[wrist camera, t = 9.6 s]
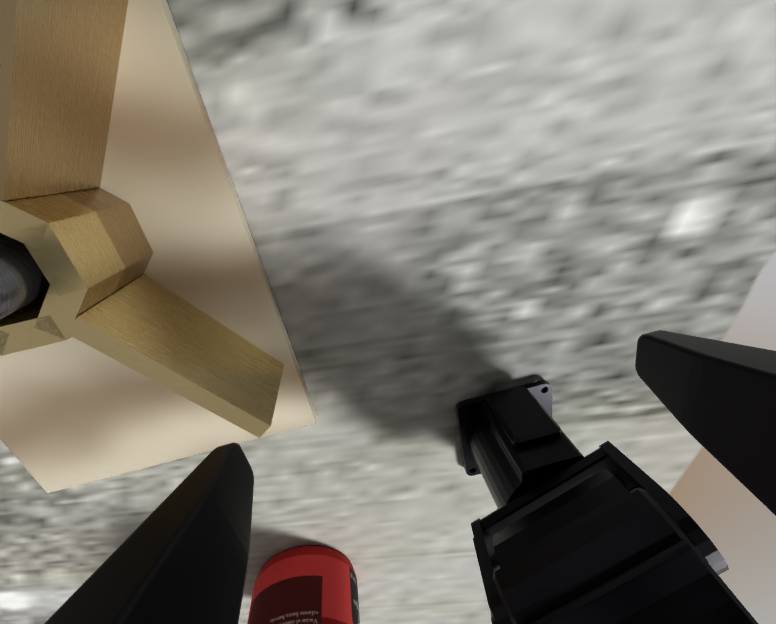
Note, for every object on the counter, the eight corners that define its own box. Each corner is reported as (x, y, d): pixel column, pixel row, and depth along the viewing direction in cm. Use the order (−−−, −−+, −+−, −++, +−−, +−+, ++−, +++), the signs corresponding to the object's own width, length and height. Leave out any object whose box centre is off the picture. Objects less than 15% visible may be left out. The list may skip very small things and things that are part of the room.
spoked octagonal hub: (286, 371, 20) (274, 434, 16) (121, 412, 20) (59, 490, 15) (126, -48, 13) (12, -161, 8) (-147, 3, 12) (-431, -88, 8)
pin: (119, 259, 17) (-32, 348, 9) (70, 271, 16) (-119, 371, 9) (91, 211, 16) (-101, 272, 8) (39, 224, 15) (-199, 296, 8)
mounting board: (316, 414, 23) (316, 423, 22) (56, 481, 22) (47, 492, 21) (151, -40, 13) (141, -51, 13) (-309, 46, 13) (-348, 40, 12)
